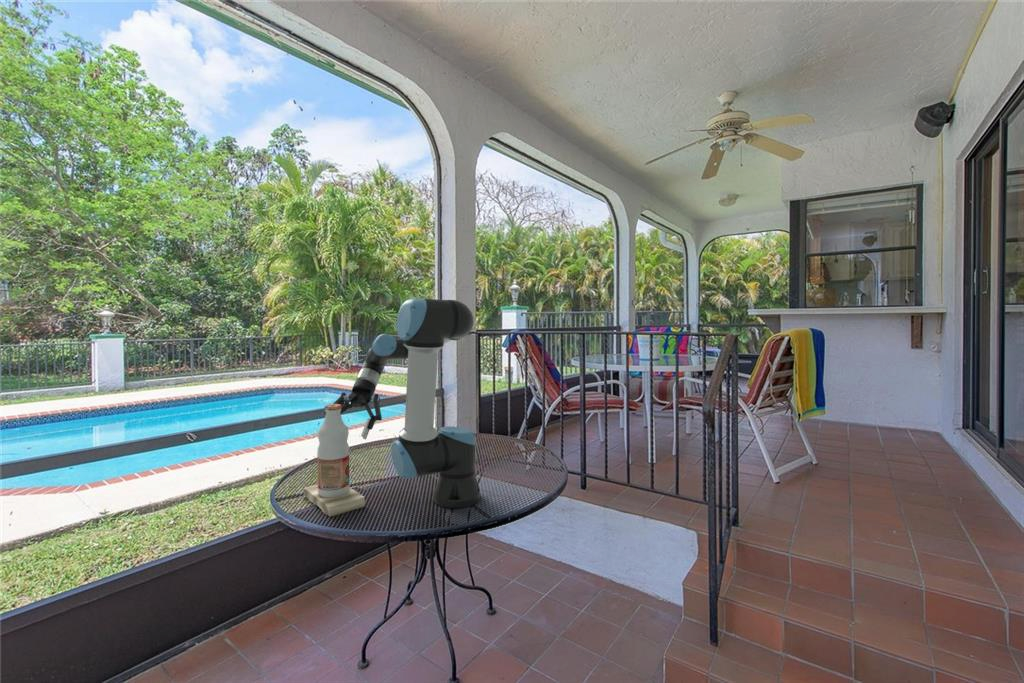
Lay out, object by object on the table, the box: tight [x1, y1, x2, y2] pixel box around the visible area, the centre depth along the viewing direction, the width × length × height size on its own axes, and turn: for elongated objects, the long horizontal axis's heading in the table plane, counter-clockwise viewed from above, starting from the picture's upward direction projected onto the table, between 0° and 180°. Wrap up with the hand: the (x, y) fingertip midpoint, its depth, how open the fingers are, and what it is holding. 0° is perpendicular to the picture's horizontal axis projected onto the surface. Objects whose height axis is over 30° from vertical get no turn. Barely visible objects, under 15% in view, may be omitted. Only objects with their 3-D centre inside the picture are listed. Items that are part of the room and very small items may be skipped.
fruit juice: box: [316, 403, 350, 497], centre depth 141 cm, size 9×9×28 cm
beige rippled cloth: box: [303, 484, 366, 518], centre depth 142 cm, size 20×11×3 cm, turn 45°
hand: (344, 436), depth 148 cm, fingers open, 13 cm apart
